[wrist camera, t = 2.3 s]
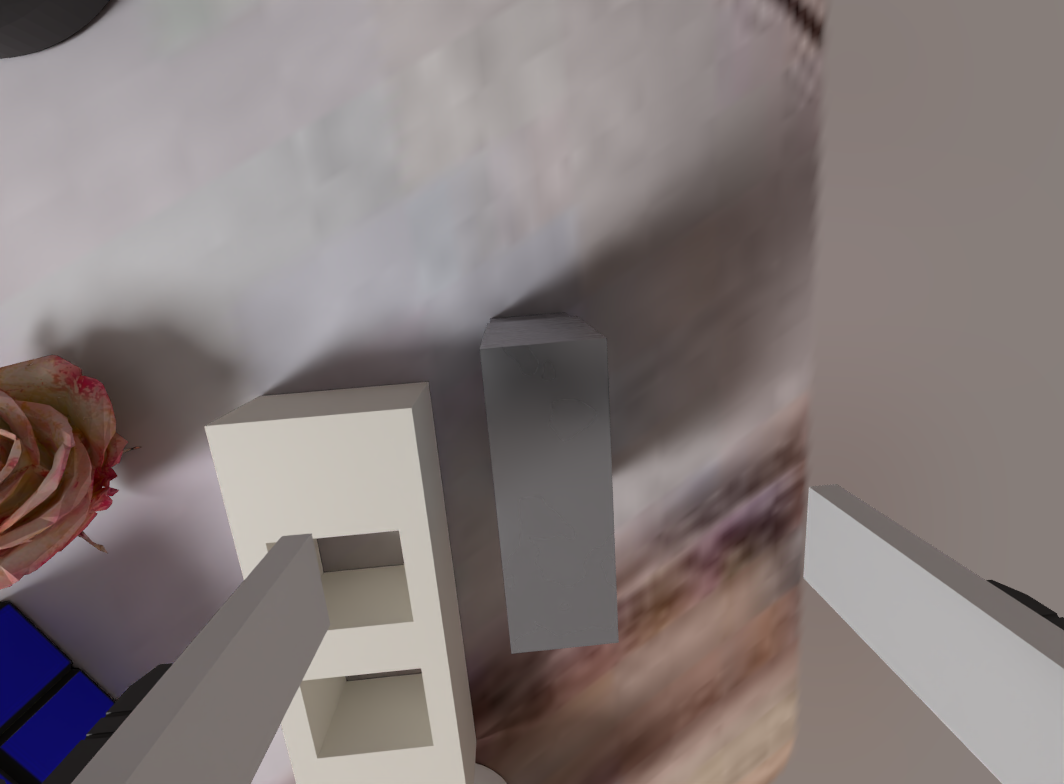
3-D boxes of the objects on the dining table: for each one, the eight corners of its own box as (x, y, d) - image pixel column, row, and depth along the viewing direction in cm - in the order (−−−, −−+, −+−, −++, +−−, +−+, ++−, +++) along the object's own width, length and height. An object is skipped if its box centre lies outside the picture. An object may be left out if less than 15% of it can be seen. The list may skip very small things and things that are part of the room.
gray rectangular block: (490, 313, 23) (479, 348, 14) (564, 307, 23) (606, 338, 14) (508, 507, 26) (511, 653, 16) (575, 500, 26) (618, 642, 16)
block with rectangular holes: (259, 396, 24) (204, 426, 19) (428, 381, 24) (411, 408, 19) (340, 756, 29) (311, 842, 25) (476, 741, 29) (471, 824, 25)
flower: (116, 598, 24) (34, 620, 17) (-142, 574, 21) (-371, 589, 14) (189, 409, 27) (146, 362, 20) (-24, 365, 24) (-161, 292, 17)
